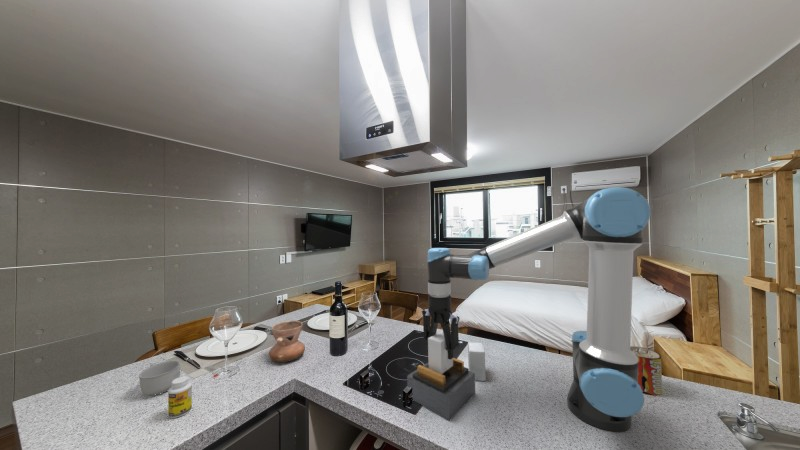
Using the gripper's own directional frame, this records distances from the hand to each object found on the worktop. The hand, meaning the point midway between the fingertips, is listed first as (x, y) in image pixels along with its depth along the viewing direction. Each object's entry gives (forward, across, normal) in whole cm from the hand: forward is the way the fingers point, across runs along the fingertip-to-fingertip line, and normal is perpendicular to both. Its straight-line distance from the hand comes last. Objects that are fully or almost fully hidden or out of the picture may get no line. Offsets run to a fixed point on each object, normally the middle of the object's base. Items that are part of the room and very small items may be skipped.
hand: (441, 364), depth 87 cm
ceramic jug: (+10, +66, +22) cm, 70 cm away
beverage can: (+11, -49, -49) cm, 70 cm away
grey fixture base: (+10, 0, 0) cm, 10 cm away
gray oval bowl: (+10, +78, +63) cm, 101 cm away
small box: (+10, -3, -19) cm, 22 cm away
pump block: (+1, 0, 0) cm, 1 cm away
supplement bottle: (+10, +56, +60) cm, 83 cm away
